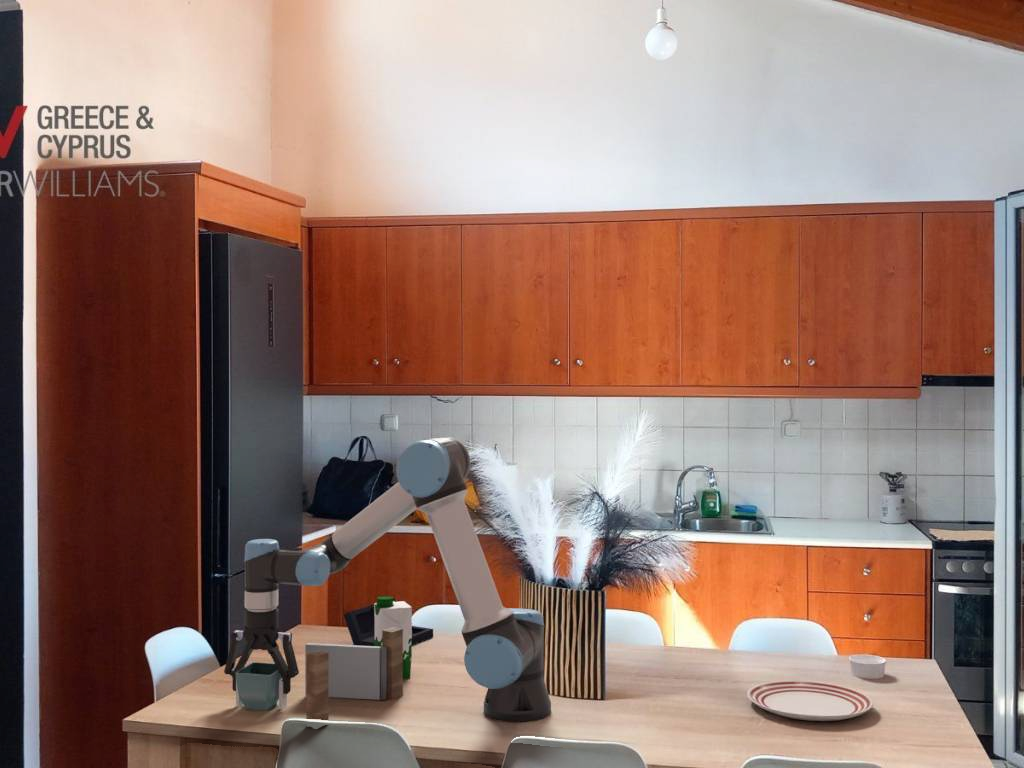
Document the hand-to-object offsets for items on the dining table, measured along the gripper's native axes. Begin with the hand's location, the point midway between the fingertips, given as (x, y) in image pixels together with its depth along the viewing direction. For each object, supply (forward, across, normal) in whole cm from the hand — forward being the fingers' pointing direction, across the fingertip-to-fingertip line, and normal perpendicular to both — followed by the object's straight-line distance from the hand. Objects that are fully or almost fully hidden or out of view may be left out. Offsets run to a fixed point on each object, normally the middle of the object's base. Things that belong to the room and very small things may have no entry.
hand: (261, 706), depth 227 cm
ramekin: (+1, -141, -49) cm, 149 cm away
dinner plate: (+1, -123, -20) cm, 125 cm away
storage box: (+1, -12, -60) cm, 62 cm away
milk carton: (+1, -23, -28) cm, 36 cm away
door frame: (0, -22, -1) cm, 22 cm away
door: (0, -26, -9) cm, 28 cm away
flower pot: (+1, 0, 0) cm, 1 cm away
